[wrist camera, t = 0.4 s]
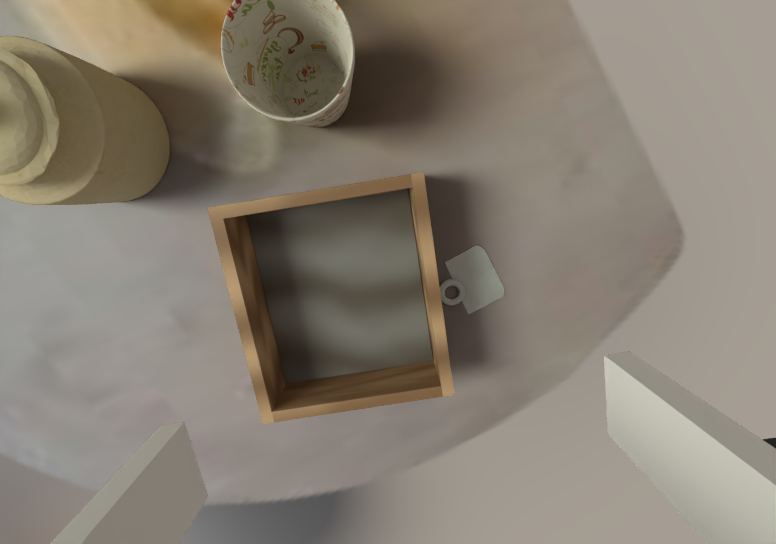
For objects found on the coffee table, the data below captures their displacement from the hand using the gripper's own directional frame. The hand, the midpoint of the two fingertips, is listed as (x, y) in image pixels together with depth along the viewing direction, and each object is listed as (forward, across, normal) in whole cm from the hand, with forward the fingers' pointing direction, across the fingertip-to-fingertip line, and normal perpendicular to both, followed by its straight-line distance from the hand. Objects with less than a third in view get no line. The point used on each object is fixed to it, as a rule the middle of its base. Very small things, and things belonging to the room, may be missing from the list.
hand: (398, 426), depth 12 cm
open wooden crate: (+25, -4, -2) cm, 26 cm away
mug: (+26, -4, +18) cm, 32 cm away
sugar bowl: (+26, -24, +14) cm, 38 cm away
